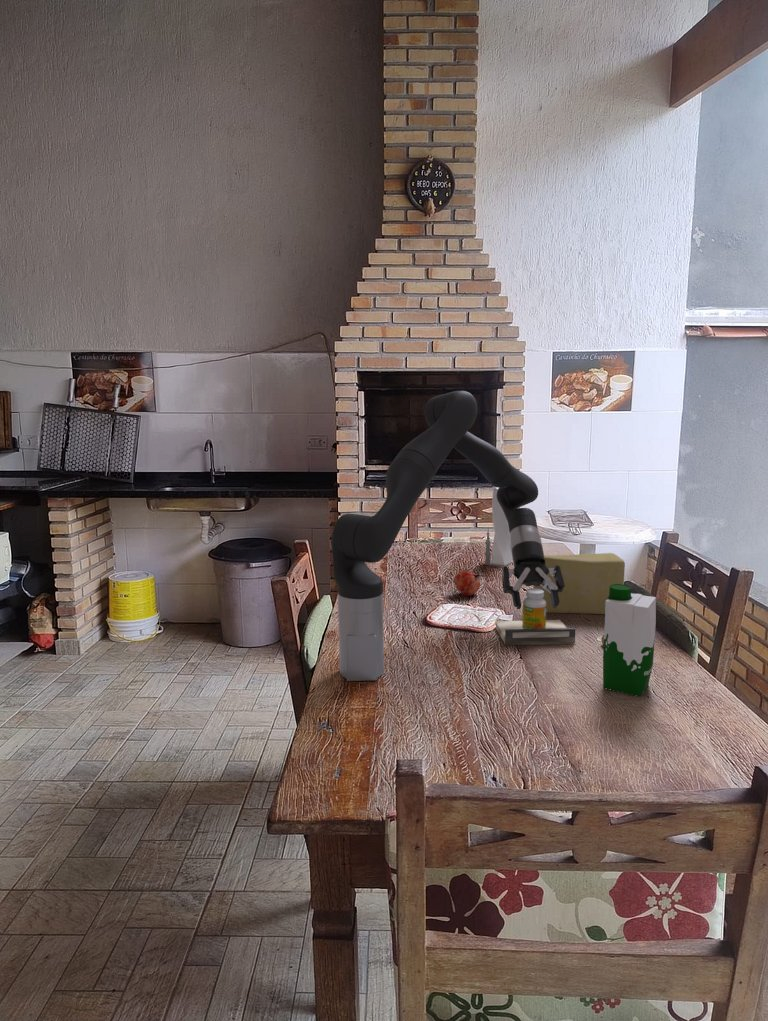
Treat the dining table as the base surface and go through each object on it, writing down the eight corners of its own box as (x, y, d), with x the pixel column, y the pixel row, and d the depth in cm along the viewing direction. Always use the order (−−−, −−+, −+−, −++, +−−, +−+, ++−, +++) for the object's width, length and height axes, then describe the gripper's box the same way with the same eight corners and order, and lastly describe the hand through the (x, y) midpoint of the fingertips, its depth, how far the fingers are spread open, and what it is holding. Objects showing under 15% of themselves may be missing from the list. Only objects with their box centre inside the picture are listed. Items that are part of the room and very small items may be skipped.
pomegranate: (452, 604, 195) (477, 588, 189) (440, 581, 197) (465, 565, 191) (466, 601, 200) (491, 585, 195) (455, 578, 202) (479, 562, 197)
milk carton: (608, 673, 142) (613, 579, 139) (655, 683, 137) (661, 586, 134) (597, 689, 135) (602, 590, 131) (645, 700, 130) (652, 598, 127)
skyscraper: (495, 559, 236) (497, 478, 231) (517, 563, 231) (519, 480, 226) (483, 564, 229) (485, 481, 224) (506, 568, 225) (508, 483, 220)
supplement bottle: (520, 632, 162) (521, 592, 160) (524, 625, 167) (525, 586, 165) (543, 635, 160) (545, 595, 158) (547, 627, 165) (548, 588, 163)
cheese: (537, 617, 177) (539, 560, 174) (529, 605, 186) (530, 551, 184) (623, 616, 177) (626, 559, 174) (611, 604, 186) (613, 550, 184)
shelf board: (575, 644, 158) (575, 629, 158) (506, 645, 158) (506, 631, 157) (559, 625, 170) (560, 612, 170) (495, 627, 170) (495, 613, 169)
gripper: (500, 540, 166) (509, 600, 157) (558, 539, 167) (571, 599, 158) (495, 556, 173) (504, 615, 163) (552, 555, 173) (563, 614, 164)
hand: (537, 607), depth 161 cm, fingers open, 8 cm apart
